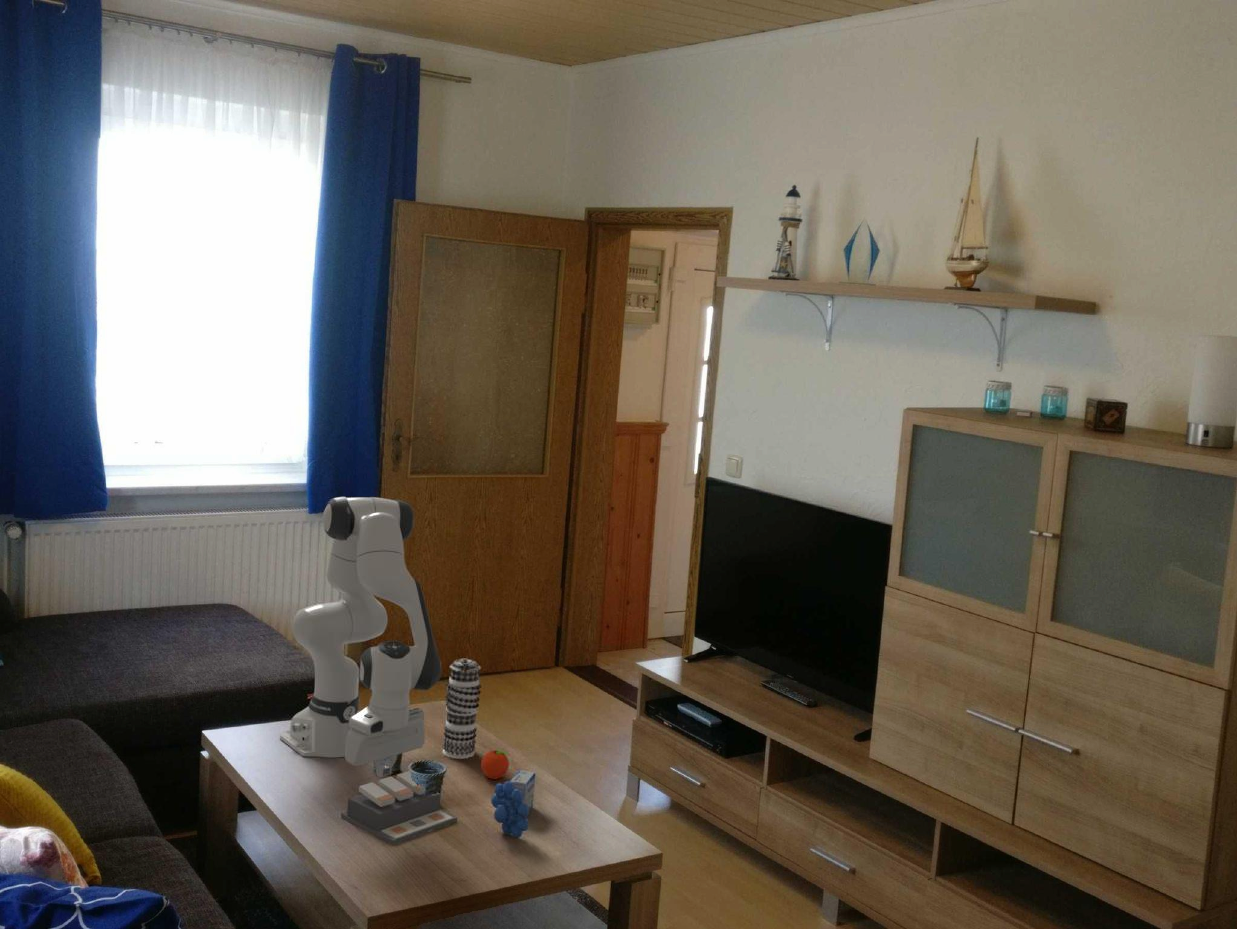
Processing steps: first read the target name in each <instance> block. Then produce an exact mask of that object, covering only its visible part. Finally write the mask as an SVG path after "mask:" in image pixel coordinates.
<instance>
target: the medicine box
mask: <svg viewBox="0 0 1237 929" xmlns="http://www.w3.org/2000/svg"><path fill="white" fill-rule="evenodd" d="M509 782H511V783H512V784H513V786H514V789H518V790H520V791H521V792H522V793H523V801H522V802H521V803H524V804H526V805H527V806H528V808H529V812H530V811H531V810H532V808H533V806H534V798H535V797H534V796H535V787H536V786H535V784H536V772H534V771H529V770H521V769H520V770H518V771H517V772H516V773H515V774H514V775H513V777H512V778H511V779H510V780H509Z"/></svg>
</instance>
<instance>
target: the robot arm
mask: <svg viewBox="0 0 1237 929" xmlns="http://www.w3.org/2000/svg"><path fill="white" fill-rule="evenodd" d="M322 515H323V516H322V523H323V528H324V531H325V533H326V535H328V537H329V538H331V539H333V540H332V545H331V549H330V552H329V553H330V555H329V558H328V560H329V561H328V565H327V573H326V578H327V581H328V584H329V585H330V586H331V587H332V588H333V589H335V590H336V591H338V592H340V593H341V594H340V595H341V596H340V599H339V601H334V602H325V603H317V604H313V605H309V606H307V607H304V608H302V609H299V610H297V612H296V614H295V615H294V618H293V621H292V624H291V628H292V634H293V637H294V639H295V641H296V642H297V643H298V644H299V645H301V646H302V647H303V648H305V650H307V652H308V653H309V655H310V657H311V659H312V662H313V666H314V693H309V694H307V699H308V700H309V699H310V701H309V704H308V706H307V707H305V708H304V709H303V710H301V711H299V712H297V713H296V714H294V716H293V717H292V718H291V721H290V728H289V729H288V730H286V731H284V732H282V733H281V734H280V735H279V739H280V740H281V741H283V743H286V744H287V745H288V746H289V747H290V748H291V749H292V750H294V751H295V752H297V753H298V755H300V756H302V757H319V758H321V757H322V758H331V759H333V758H343V757H344V759H345V760H346V762H347V763H348V764H349V765H352V766H354V767H359V766H363V765H367V764H371V763H373V764H374V766H375V768H376V772H375V774H376V776H378V777H380V778H382V777H385V776H387V775H391V774H392V769H393V766H394V764H395V763H396V761H397V758H398V755H400V754H404V753H408V752H411V751H415V750H418V749H422V747H423V746H424V744H425V742H426V741H425V740H426V730H425V729H426V728H425V712H424V710H423V709H421V708H419V707H416V708H413V709H410V707H411V706H410V704H411V700H410V691H411V690H418V691H428V690H429V689H431V688H432V687H434V686H435V685H436V684H437V683H438V682H439V680H440V679H441V675H442V662H441V659H440V655H439V652H438V648H437V645H436V643H435V638H434V635H433V630H432V626H431V621H430V617H429V612H428V608H427V603H426V599H425V596H424V593H423V588H422V587H421V584H420V582H419V580H418V579H415V578H414V577H413V576H412V575H411V573H410V572H409V570H408V569H407V565H406V562H405V549H404V541H406V540H407V539H409V537H410V536H411V535H412V532H413V529H414V524H415V517H414V516H415V515H414V510H413V508H412V506H411V504H409V503H408V502H406V501H403V500H400V499H394V500H393V499H389V498H384V497H375V496H374V497H373V496H370V497H367V496H366V497H363V496H361V497H359V496H358V497H356V496H354V497H346V496H339V497H338V496H337V497H334V498H331V499H329V501H327V503H326V506H325V509H324V511H323V514H322ZM376 597H377V598H380V599H383V600H386V601H387V602H388V601H389V602H390V603H393V604H395V605H397V606H399V607H400V608H402V609H403V610H404V611H405V613H406V615H407V616H408V620H409V625H410V629H411V633H412V638H413V643H414V645H412V646H410V645H408V644H406V643H404V642H401V641H397V640H387V641H382V642H380V643H379V644H378V645H377V646H371V647H368V648H367V649H365V651H363V653H362V654H361V655H360V656H359V665H358V664H357V663H356V661H355V660H353V659H352V658H350V657H348V656H346V655H344V645H347V644H355V643H361V642H366V641H369V640H372V639H375V638H377V637H379V636H381V635H382V634H384V632H385V630H387V629H386V628H387V625H388V613H387V610H386V608H385V606H384V604H382V603H381V602H380V601H379V600H378V599H377V598H376ZM359 682H360V683H361V684H362V685H363V686H364V687H365V688H367V689H368V690H371V695H370V698H369V704H368V705H367V706H366V707H364V708H363V709H361V710H360V711H359V709H360V703H361V702H360V701H361V700H360V695H359ZM385 759H386V761H385ZM384 761H385V762H384ZM383 763H384V764H383Z"/></svg>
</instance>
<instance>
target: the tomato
mask: <svg viewBox="0 0 1237 929" xmlns="http://www.w3.org/2000/svg"><path fill="white" fill-rule="evenodd" d="M506 755H508V756H510V754H509V753H508V752H506V751H503V750H490V751H489V752H487V753H486V754H485V755H484V756H483V758H482V759H481V763H480V764H481V770H482V773H483V774H484V776H486V777H487V778H489V779H493V780H495V779H501V778H502V777H505V775H506V773H507V772H508V770H509V767H510V763H509V759H508V756H506ZM510 758H511V760H512V761H514V760H513V758H512V756H510Z"/></svg>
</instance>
